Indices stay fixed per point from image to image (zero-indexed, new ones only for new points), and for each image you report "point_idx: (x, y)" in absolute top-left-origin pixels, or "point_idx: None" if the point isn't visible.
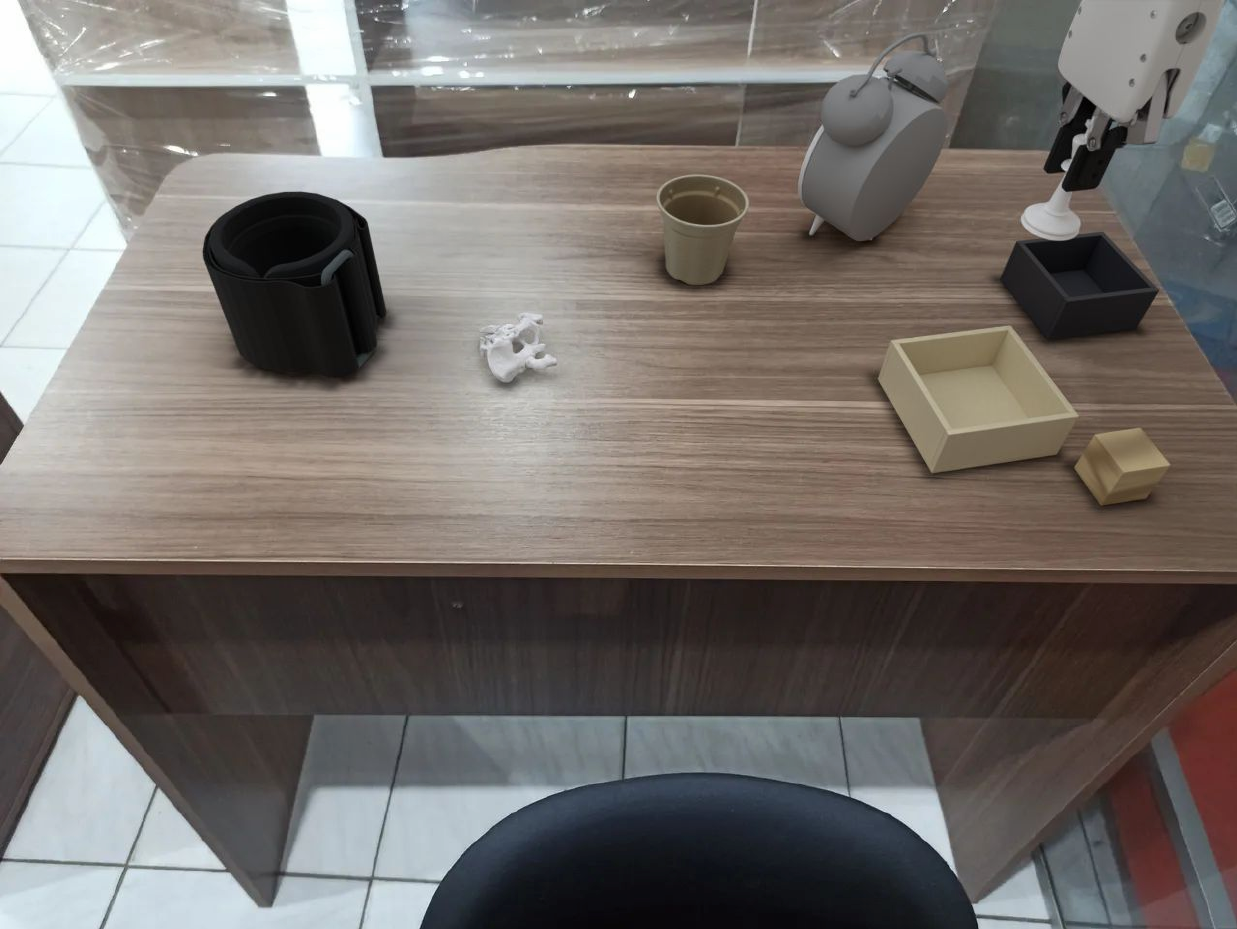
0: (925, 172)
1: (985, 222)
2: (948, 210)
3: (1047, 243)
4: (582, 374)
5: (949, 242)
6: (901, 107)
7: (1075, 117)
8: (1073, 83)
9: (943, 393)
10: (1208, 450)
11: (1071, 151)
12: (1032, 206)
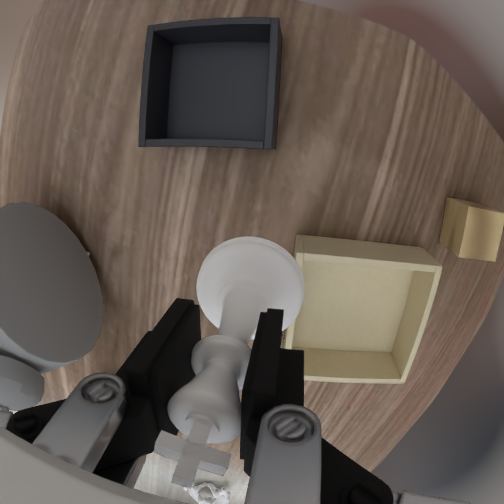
0: (29, 217)
1: (76, 115)
2: (55, 148)
3: (148, 103)
4: (227, 474)
5: (97, 171)
6: None
7: (135, 454)
8: None
9: (323, 309)
10: (457, 102)
11: (184, 378)
12: (210, 314)
